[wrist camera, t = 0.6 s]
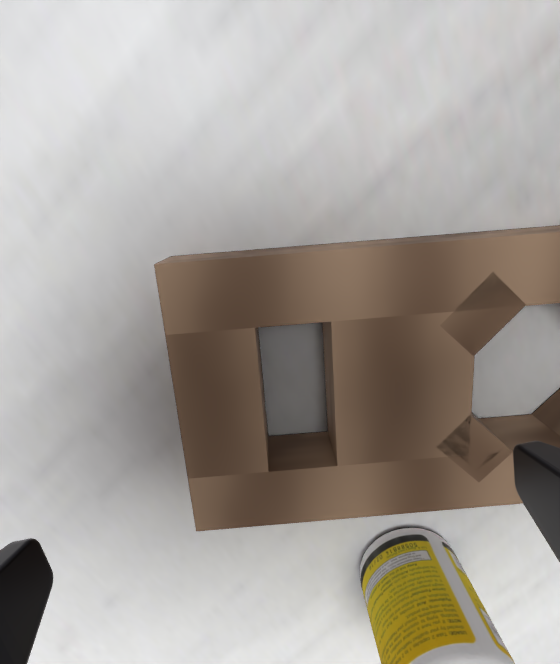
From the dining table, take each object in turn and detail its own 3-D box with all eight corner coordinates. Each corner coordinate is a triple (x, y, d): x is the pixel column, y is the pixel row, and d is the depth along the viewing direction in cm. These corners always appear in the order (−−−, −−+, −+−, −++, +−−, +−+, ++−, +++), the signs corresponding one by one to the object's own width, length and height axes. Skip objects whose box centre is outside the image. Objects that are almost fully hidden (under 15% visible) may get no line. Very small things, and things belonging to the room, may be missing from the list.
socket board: (642, 218, 19) (711, 219, 16) (605, 455, 22) (656, 491, 19) (171, 256, 18) (154, 264, 16) (205, 488, 22) (196, 531, 19)
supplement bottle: (340, 584, 24) (389, 827, 14) (387, 510, 22) (474, 724, 13) (421, 613, 25) (518, 862, 15) (471, 543, 23) (611, 768, 14)
